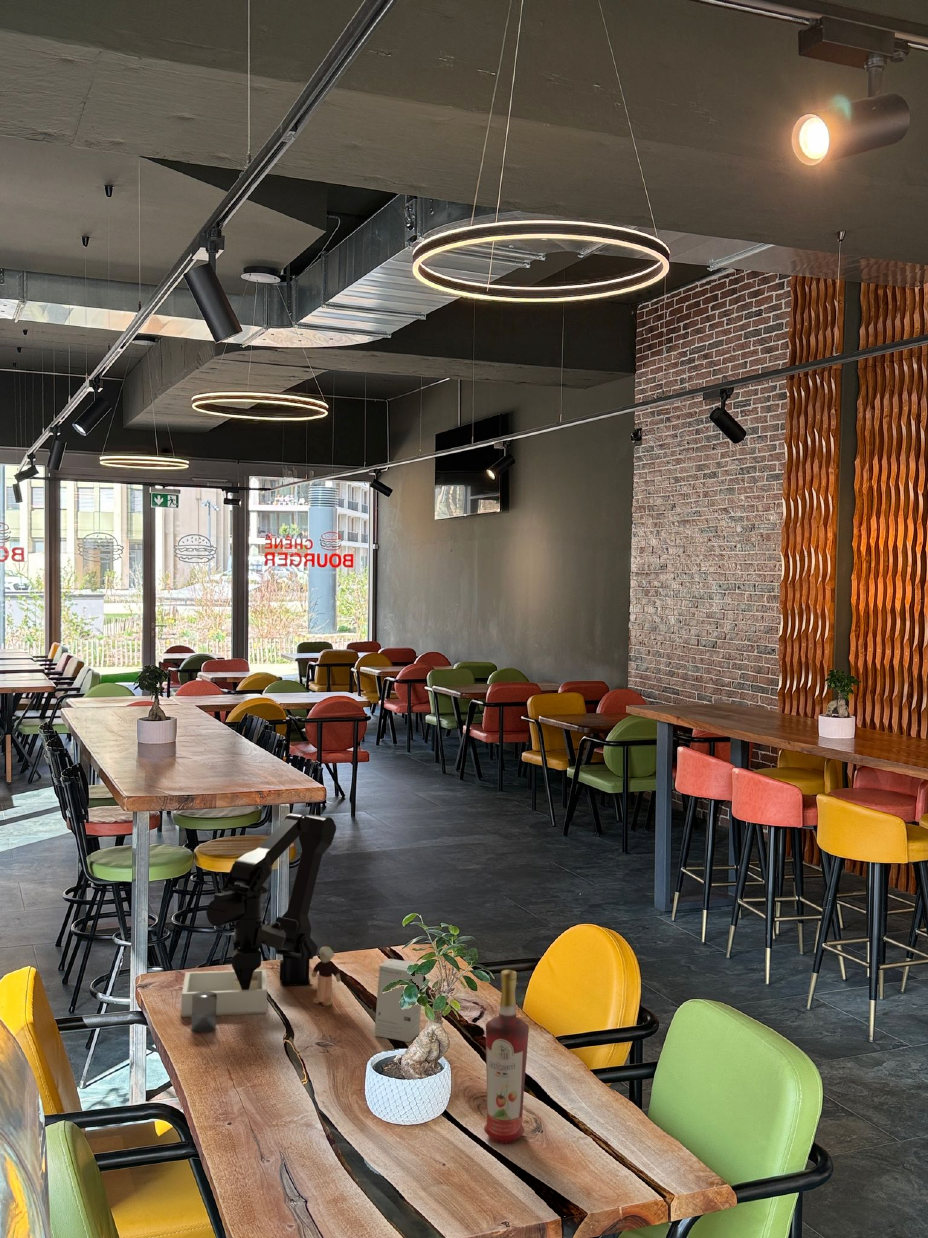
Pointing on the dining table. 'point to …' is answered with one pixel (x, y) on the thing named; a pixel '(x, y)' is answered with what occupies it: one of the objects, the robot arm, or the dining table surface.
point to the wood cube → (252, 985)
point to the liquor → (506, 1066)
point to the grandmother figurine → (325, 976)
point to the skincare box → (396, 1003)
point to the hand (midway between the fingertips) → (245, 986)
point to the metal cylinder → (204, 1012)
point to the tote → (225, 993)
